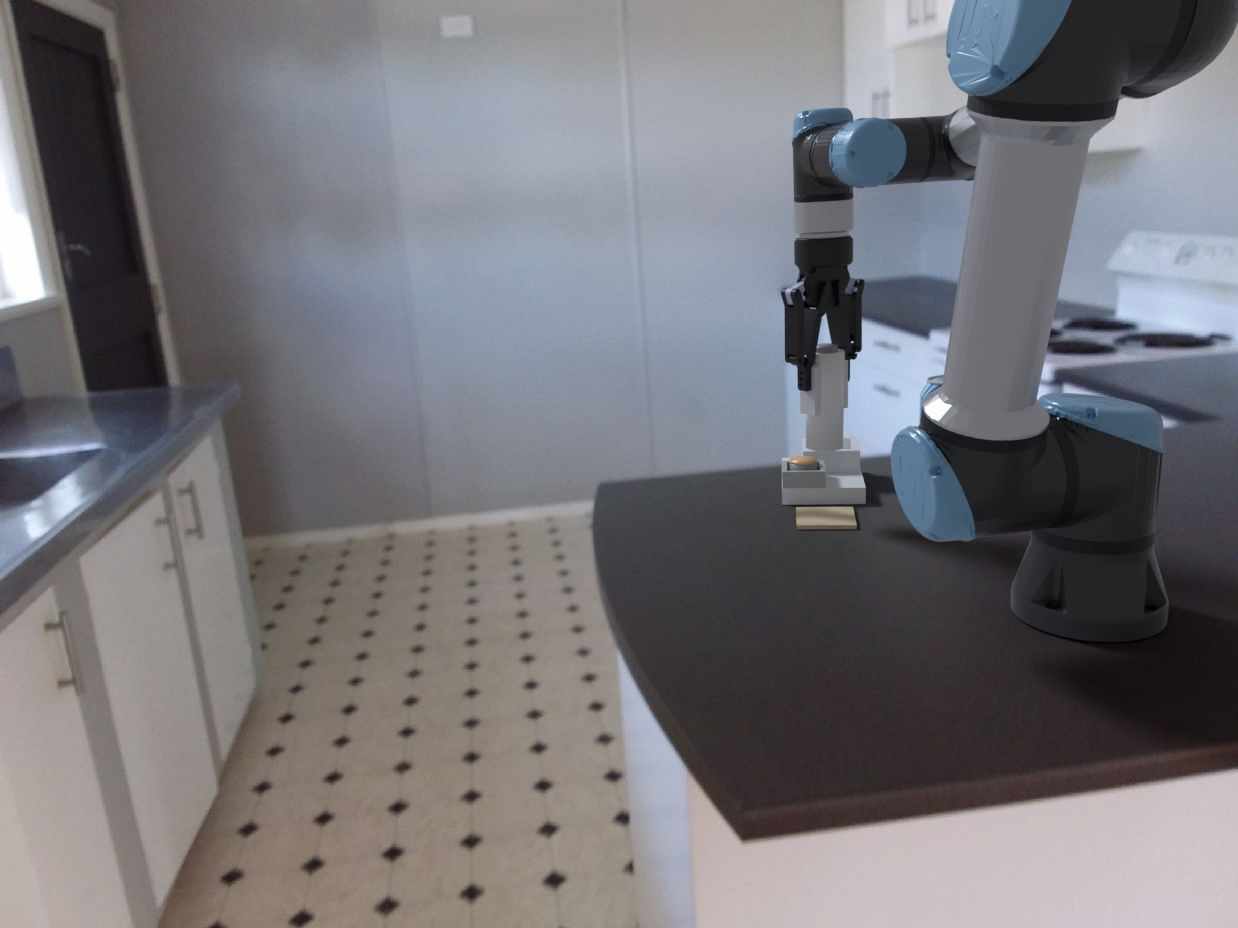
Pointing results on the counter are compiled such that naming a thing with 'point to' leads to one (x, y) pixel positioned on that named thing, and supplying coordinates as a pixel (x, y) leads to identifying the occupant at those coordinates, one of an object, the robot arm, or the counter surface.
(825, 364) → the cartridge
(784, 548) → the counter surface
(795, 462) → the tan dome
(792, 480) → the housing
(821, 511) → the coaster
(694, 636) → the counter surface
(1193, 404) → the counter surface
